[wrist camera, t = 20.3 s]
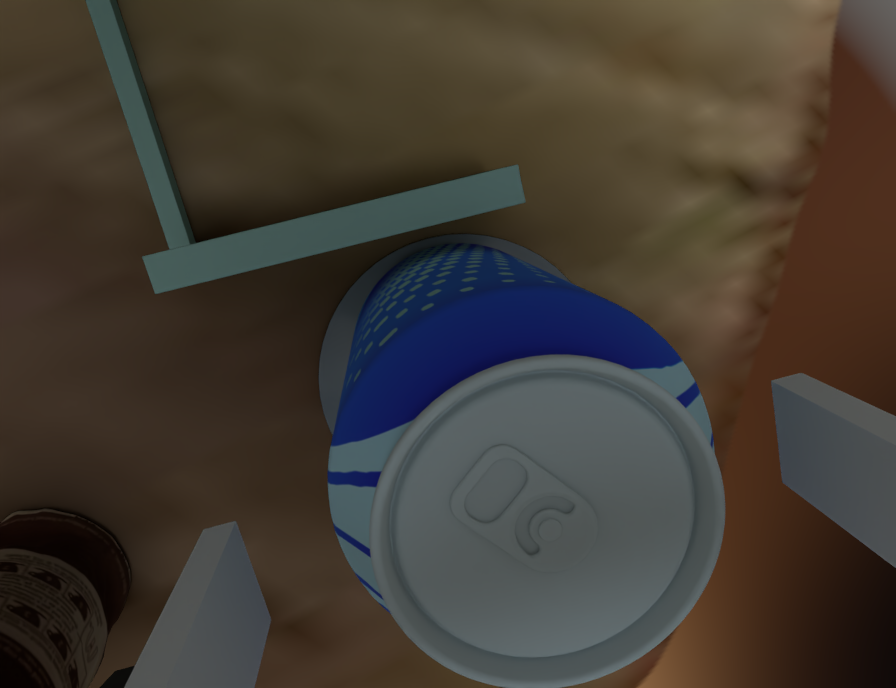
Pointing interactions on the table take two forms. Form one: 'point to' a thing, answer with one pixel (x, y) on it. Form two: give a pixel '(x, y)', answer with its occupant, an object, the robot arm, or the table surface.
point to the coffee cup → (57, 598)
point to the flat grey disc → (351, 304)
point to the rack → (282, 237)
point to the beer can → (521, 471)
